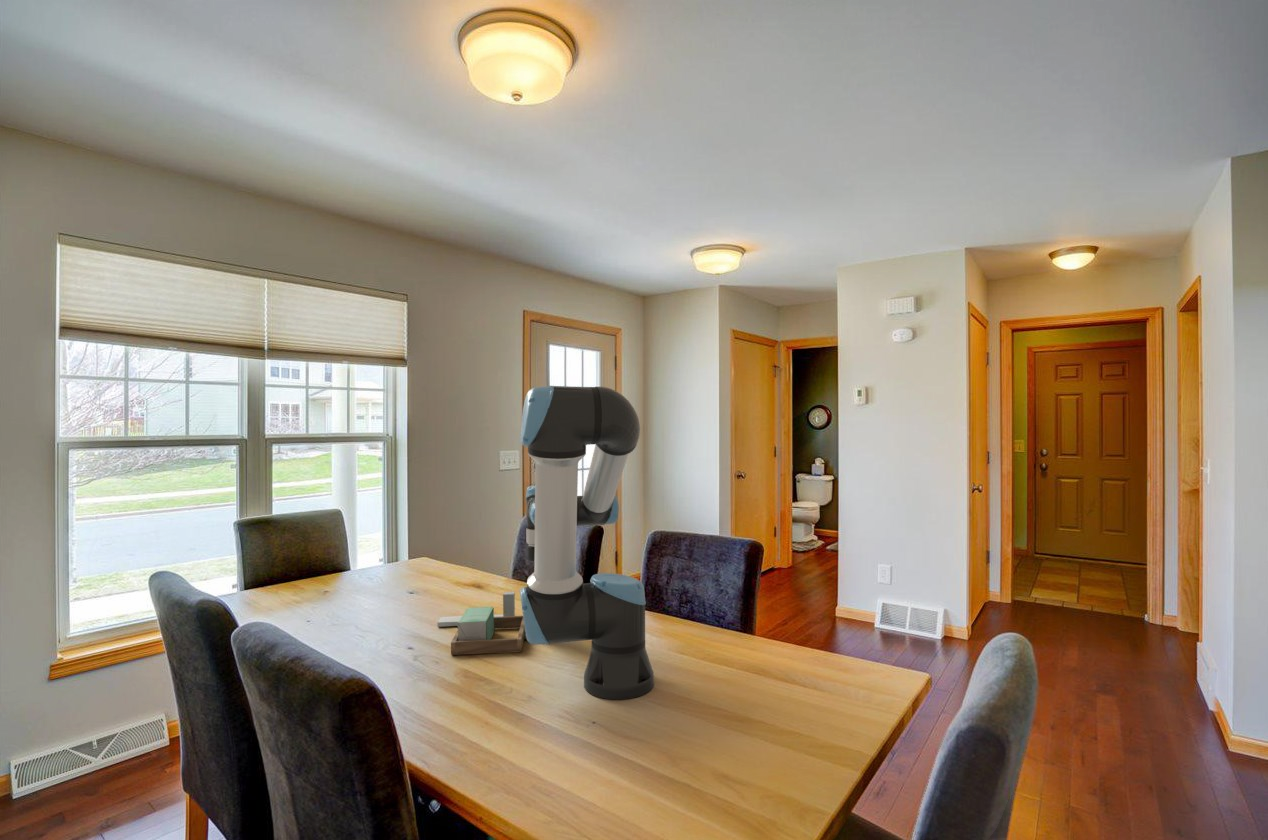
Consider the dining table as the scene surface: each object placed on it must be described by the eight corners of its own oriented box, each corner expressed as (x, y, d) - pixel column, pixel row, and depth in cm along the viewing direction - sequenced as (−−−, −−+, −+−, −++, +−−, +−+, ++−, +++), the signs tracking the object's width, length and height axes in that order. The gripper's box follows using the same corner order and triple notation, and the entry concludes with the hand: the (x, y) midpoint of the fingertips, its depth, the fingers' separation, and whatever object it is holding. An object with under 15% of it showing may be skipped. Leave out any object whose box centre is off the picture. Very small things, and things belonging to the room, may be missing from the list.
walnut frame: (546, 650, 151) (546, 605, 151) (450, 654, 149) (450, 609, 149) (549, 625, 170) (549, 585, 170) (464, 629, 168) (464, 589, 168)
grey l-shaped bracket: (513, 623, 172) (513, 595, 172) (437, 626, 170) (437, 598, 170) (515, 617, 177) (515, 590, 177) (441, 621, 175) (441, 593, 175)
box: (494, 632, 166) (494, 605, 166) (487, 650, 152) (487, 621, 152) (467, 633, 165) (466, 606, 165) (457, 652, 152) (457, 622, 152)
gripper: (554, 549, 153) (555, 643, 152) (556, 537, 169) (556, 622, 169) (524, 550, 152) (524, 644, 152) (528, 538, 168) (529, 623, 168)
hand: (541, 632), depth 160 cm, fingers closed on walnut frame, 3 cm apart
